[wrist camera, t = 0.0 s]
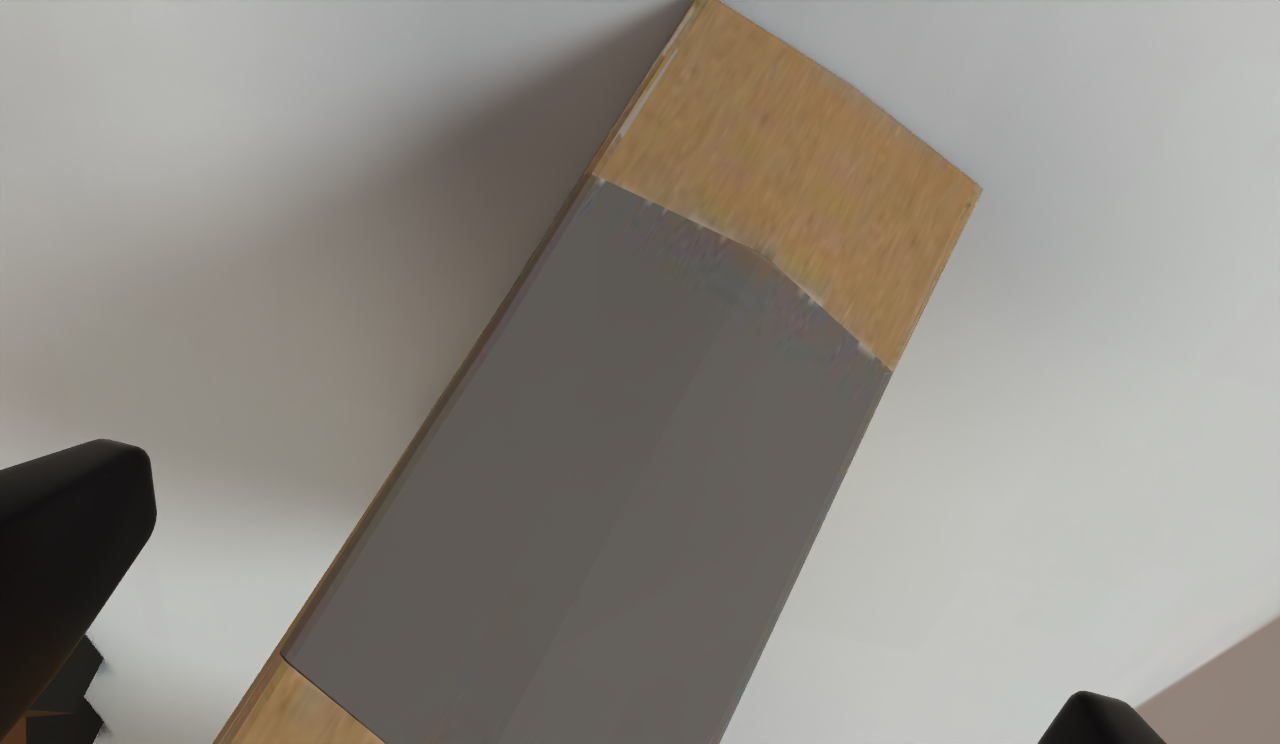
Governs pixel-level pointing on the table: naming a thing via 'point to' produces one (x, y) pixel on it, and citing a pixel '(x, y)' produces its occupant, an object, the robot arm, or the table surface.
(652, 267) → the sandwich container
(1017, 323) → the table surface
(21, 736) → the pan flute
